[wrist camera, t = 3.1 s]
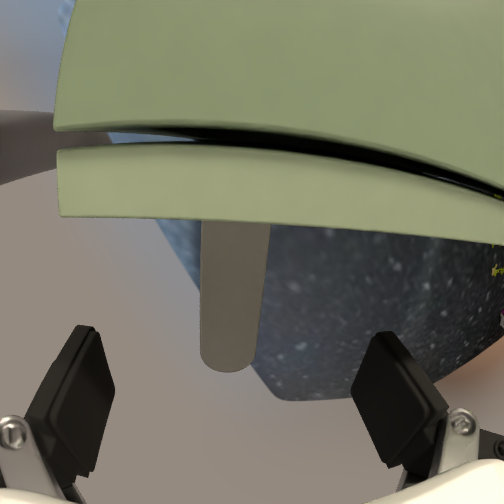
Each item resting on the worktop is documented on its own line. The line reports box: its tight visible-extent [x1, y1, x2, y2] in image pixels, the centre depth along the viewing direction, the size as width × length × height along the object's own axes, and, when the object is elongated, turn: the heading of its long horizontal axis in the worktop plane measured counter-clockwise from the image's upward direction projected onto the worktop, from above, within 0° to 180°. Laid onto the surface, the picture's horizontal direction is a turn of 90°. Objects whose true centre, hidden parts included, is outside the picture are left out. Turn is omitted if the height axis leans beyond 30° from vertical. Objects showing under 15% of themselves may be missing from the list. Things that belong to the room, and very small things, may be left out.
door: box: [57, 141, 504, 372], centre depth 17 cm, size 8×26×24 cm, turn 85°
